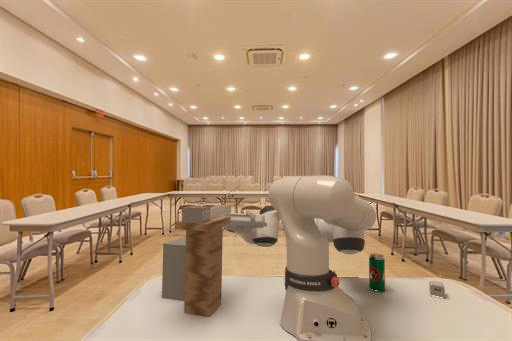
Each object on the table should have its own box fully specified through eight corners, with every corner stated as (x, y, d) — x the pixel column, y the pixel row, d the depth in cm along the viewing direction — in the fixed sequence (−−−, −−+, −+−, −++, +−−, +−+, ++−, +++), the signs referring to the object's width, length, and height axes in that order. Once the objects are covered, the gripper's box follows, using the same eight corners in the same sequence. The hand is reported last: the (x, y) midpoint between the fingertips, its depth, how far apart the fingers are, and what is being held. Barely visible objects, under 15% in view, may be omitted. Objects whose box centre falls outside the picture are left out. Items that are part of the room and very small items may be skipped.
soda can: (386, 293, 90) (386, 257, 90) (371, 291, 91) (370, 256, 91) (382, 287, 95) (382, 253, 95) (367, 286, 96) (367, 252, 96)
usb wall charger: (430, 296, 88) (430, 284, 88) (428, 289, 94) (428, 277, 94) (445, 299, 86) (444, 286, 86) (442, 291, 92) (442, 280, 92)
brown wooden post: (229, 299, 84) (230, 216, 85) (207, 325, 68) (209, 223, 70) (200, 295, 86) (202, 215, 88) (172, 319, 71) (175, 221, 72)
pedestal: (206, 282, 98) (207, 236, 98) (184, 300, 82) (185, 245, 83) (187, 280, 100) (188, 234, 101) (161, 297, 84) (163, 243, 85)
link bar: (235, 213, 95) (235, 202, 95) (202, 223, 70) (202, 208, 70) (219, 212, 97) (219, 201, 97) (182, 222, 72) (182, 207, 72)
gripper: (267, 233, 113) (260, 221, 102) (222, 230, 118) (211, 218, 107) (269, 219, 116) (262, 206, 105) (225, 217, 122) (215, 204, 110)
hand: (236, 212), depth 106 cm, fingers open, 8 cm apart
